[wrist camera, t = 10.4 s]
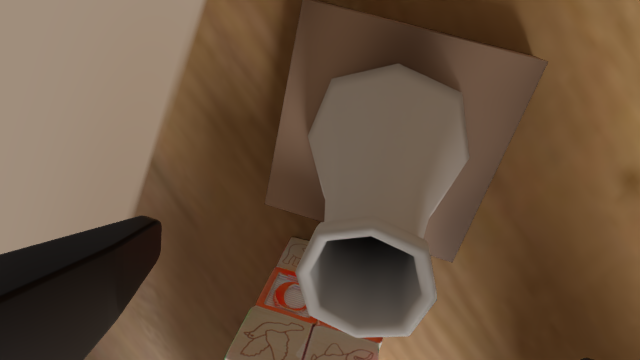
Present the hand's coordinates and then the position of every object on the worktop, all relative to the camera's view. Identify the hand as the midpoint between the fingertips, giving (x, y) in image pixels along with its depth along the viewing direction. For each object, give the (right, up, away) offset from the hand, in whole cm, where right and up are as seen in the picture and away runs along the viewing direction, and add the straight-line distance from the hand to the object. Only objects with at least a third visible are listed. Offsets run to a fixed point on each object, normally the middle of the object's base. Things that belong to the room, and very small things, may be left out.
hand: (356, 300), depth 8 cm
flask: (+2, +4, +10) cm, 11 cm away
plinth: (+3, +5, +11) cm, 13 cm away
